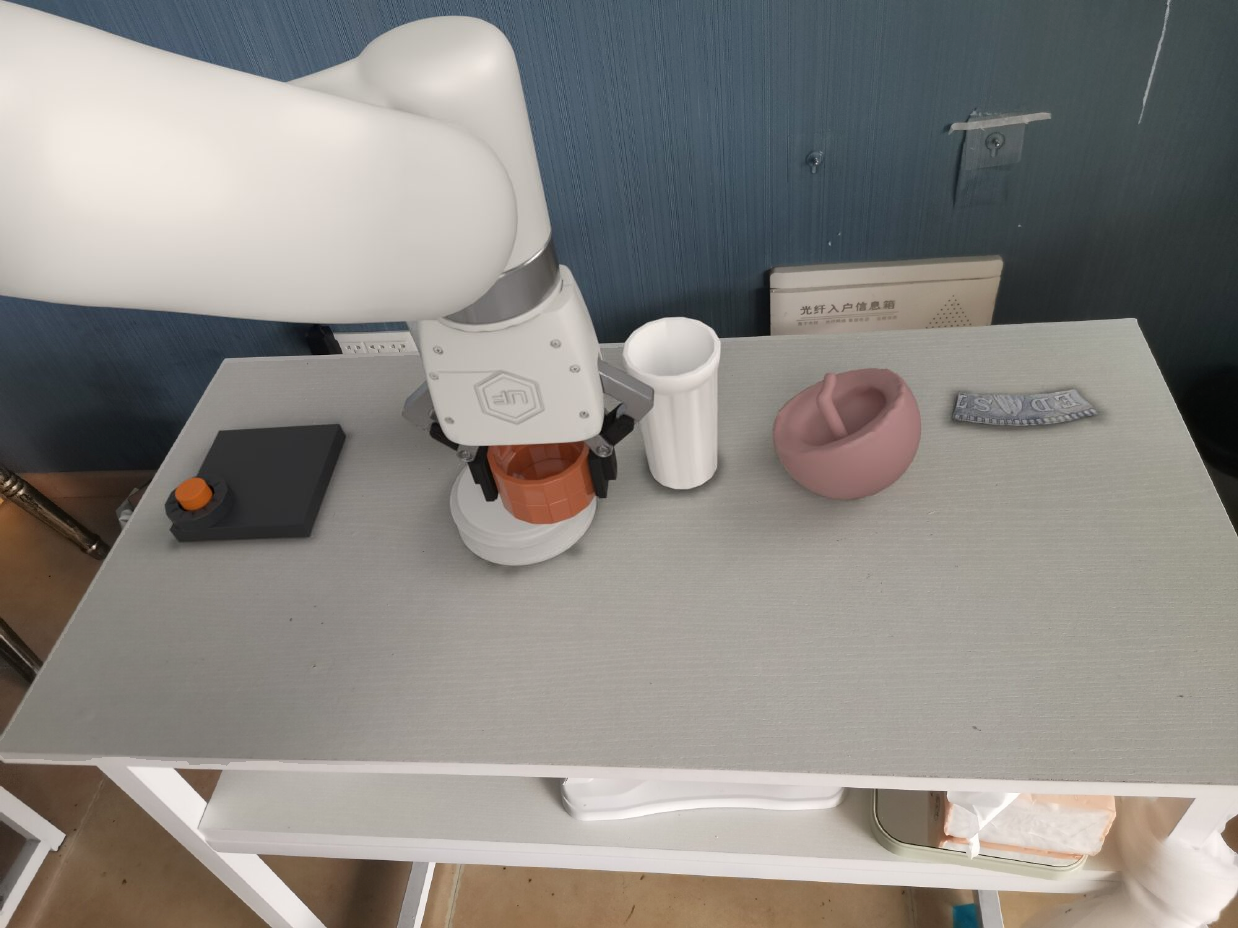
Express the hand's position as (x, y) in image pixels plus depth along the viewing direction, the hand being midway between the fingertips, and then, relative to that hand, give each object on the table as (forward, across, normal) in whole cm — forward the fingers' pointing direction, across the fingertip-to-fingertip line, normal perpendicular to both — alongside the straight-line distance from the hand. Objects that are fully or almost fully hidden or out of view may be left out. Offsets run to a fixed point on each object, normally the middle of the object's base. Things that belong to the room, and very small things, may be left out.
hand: (548, 483), depth 61 cm
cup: (+16, +8, +16) cm, 23 cm away
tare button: (+12, -37, +11) cm, 40 cm away
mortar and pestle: (+16, +22, +14) cm, 30 cm away
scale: (+16, -33, +15) cm, 39 cm away
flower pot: (+1, 0, 0) cm, 1 cm away
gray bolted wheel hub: (+16, -6, +10) cm, 20 cm away
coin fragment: (+16, +39, +21) cm, 47 cm away
